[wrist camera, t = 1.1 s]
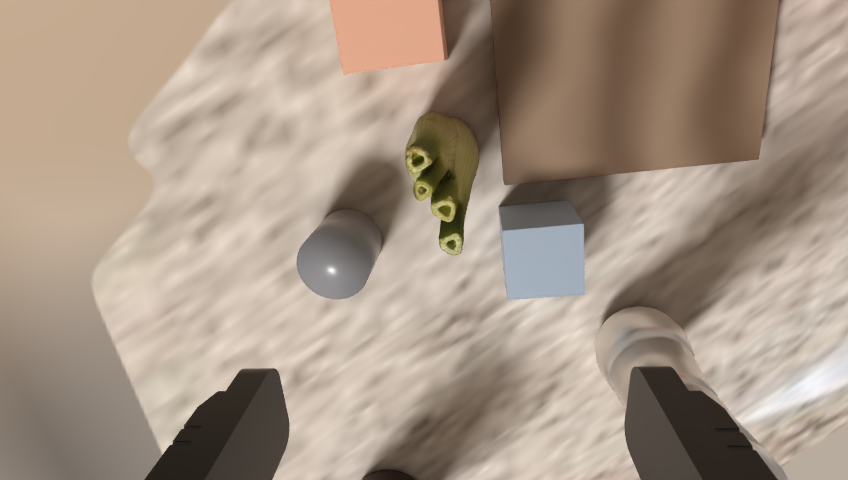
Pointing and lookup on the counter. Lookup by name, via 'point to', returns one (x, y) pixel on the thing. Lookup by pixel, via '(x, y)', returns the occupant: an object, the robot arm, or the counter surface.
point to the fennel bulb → (444, 172)
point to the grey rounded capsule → (340, 254)
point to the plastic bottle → (656, 358)
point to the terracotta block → (388, 33)
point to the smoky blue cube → (542, 250)
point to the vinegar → (388, 476)
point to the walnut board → (629, 84)
